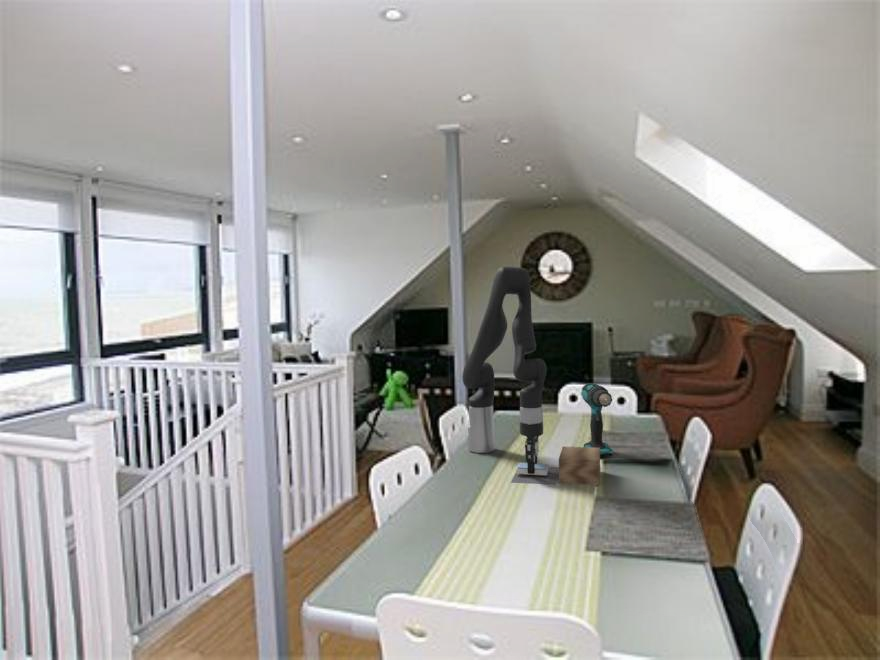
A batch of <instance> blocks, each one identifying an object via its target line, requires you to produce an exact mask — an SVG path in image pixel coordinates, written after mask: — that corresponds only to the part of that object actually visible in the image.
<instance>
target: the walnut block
mask: <svg viewBox="0 0 880 660" xmlns="http://www.w3.org/2000/svg"><path fill="white" fill-rule="evenodd" d="M558 467H559V475H558V479H559V480H558V481H559V483H560V484H575V485H577V484H580V485H595V486H597V487H599V486H600V479H601V454H600V448H592V447H584V446H562V448H561V451H560V454H559V456H558Z"/></svg>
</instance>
